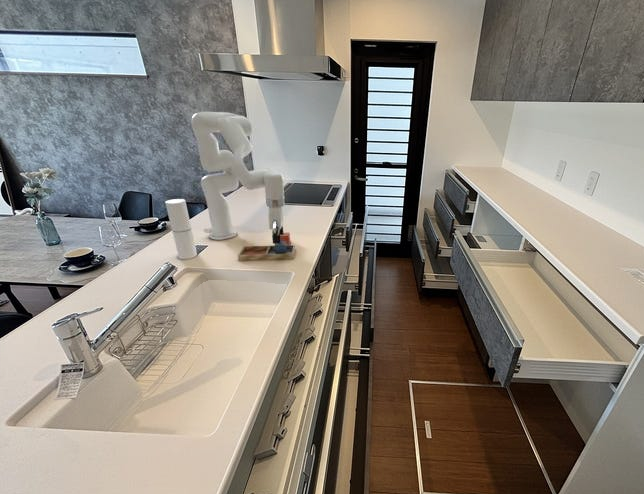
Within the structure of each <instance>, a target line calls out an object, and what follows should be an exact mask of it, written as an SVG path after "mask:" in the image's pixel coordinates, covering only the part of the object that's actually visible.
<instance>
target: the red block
mask: <svg viewBox="0 0 644 494" xmlns="http://www.w3.org/2000/svg"><path fill="white" fill-rule="evenodd" d="M280 241H286V245H291V233H290V232H283V235H280Z"/></svg>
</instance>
